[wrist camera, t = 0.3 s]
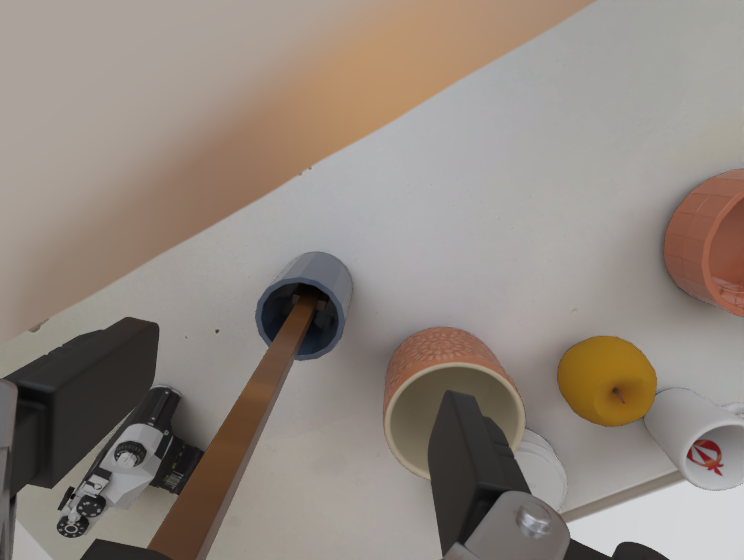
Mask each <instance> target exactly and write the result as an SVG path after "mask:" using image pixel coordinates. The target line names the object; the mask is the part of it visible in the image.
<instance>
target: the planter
mask: <svg viewBox="0 0 744 560" xmlns="http://www.w3.org/2000/svg"><path fill="white" fill-rule="evenodd" d="M446 390H452V391H456V392H461V393H465V394H470V395H473V396H475V398H476V401H477V403H478V405H479V408H480V410H481V413H482V415H483V416H486V417H490V418H491V419H492V420H493V421H494V422H495V423H496V424H497V425H498V426H499V427H500V428H501V429H502V430H503V432H504V434H505V436H506V439H507V441H508V443H509V447H511V450H512V452H513V454H514V453H515V452H516V450H517V449H518V447H519V445H520V443H521V441H522V438H523V434H524V430H525V411H524V406H523V403H522V400H521V397H520V395H519V393H518V391H517V389H516V387H515V385H514V384H513V382H512V380H511V379H510V377H509V376H508V374H507V373H506V371H505V370H504V369H503V367H502V366H501V365H500V363H499V362H498V360H497V359H496V357H495V355H494V354H493V353H492V351H491V350H490V349H489V348H488V347H487V346H486V345H485V344H484V343H483V342H482V341H481V340H479V339H478V338H477V337H475V336H474V335H472V334H470V333H468V332H466V331H463V330H460V329H456V328H451V327H435V328H429V329H426V330H423V331H420V332H418V333H416V334H414V335H412V336H411V337H409V338H408V339H406V340H405V341H404V342H403V343H402V344H401V345H400V346H399V347H398V348H397V350H396V351H395V353H394V354H393V356H392V358H391V360H390V362H389V365H388V368H387V373H386V377H385V392H384V404H383V426H384V433H385V437H386V440H387V443H388V446H389V448H390V450H391V452H392V453H393V455H394V456H395V458H396V459H397V460H398V461H399V462H400V463H401V464H402V465H403V466H404V467H405V468H406V469H408V470H409V471H411V472H412V473H414V474H415V475H417V476H419V477H422V478H424V479H427V480H430V481H431V479H430V473H429V467H428V459H427V453H428V444H429V439H430V436H431V432H432V429H433V426H434V423H435V420H436V417H437V414H438V411H439V407H440V404H441V401H442V398H443V395H444V393H445V392H446Z"/></svg>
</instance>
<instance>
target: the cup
mask: <svg viewBox="0 0 744 560" xmlns="http://www.w3.org/2000/svg"><path fill="white" fill-rule="evenodd" d="M739 414H744V403H741V402H740V403H731V404H727V405H724V406H719V405H717V404H716V403H714V402H712V401H710V400H709V399H707V398H705V397H703V396H702V395H700V394H698V393H696V392H693V391H691V390H687V389H682V388H673V389H668V390H665V391H662V392H660V393H658V394H657V395H655V400H654V402H653V404H652V406H651V408H650V410H649V412H647V413H646V414H645V415H644V421H645V425H646V427H647V429H648V431H649V433H650V434H651V435H652V437H653V438H654V439H655V441H656V442H657V443H658V444H659V446H660V447H661V448H662V450H663V451H664V452H665V453H666V455H667V456H668V457H669V459H670V460H671V461H672V462H673V464H674V465H675V466H676V468H677V469H678V470H679V471H680V473H681V474H682V475H683V477H684V478H685V479H686V480H687V481H689V482H690V483H691V484H693V485H694V486H696V487H699V488H702V489H705V490H712V491H717V490H718V491H719V490H726V489H731V488H734V487H736V486H739V485H741V484H743V483H744V419H742V418H740V417H738V416H737V415H739Z"/></svg>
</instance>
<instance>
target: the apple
mask: <svg viewBox="0 0 744 560" xmlns="http://www.w3.org/2000/svg"><path fill="white" fill-rule="evenodd" d="M557 380H558V385H559V389H560V392H561V394H562V396H563V397H564V399H565V400H566V402H567V403H568V404H569V406H570V407H571V408H572V410H573V411H574V412H575V413H576V414H578V415H579V416H581V417H582V418H584V419H586V420H588V421H590V422H592V423H596V424H599V425H602V426H606V427H613V426H623V425H625V424H628V423H630V422H633V421H636V420H638V419H640V418H642V417H643V416H644V415H645V414H646V413H647V412H649V410H650V408H651V406H652V404H653V402H654V400H655V393H656V386H657V377H656V373H655V370H654V368H653V367H652V365H651V364H650V362H649V361H648V359H647V358H646V356H645V355H644V354H643V353H642V351H641V350H639V349H638V348H637V347H635V346H634V345H633V344H632V343H630V342H627V341H625V340H623V339H620V338H618V337H613V336H597V337H591V338H589V339H587V340H584V341H582V342H580V343H578V344H576V345H574V346H573V347H572V348H570V349H569V350H568V351H567V352H566V353H565V355H564V356H563V358H562V359H561V361H560V363H559V366H558V375H557Z"/></svg>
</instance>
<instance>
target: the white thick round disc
mask: <svg viewBox="0 0 744 560" xmlns="http://www.w3.org/2000/svg"><path fill="white" fill-rule="evenodd" d="M514 456H515V457H514V459H516V460H517V463H518V465H519V467H520V469H521V471H522V474H523V476H524V478H525V480H526V482H527V484H528V487H529V489H530V491H531V493H532V495H533V496H535V497H537V498H539V499H541V500H542V501H544V502H545V503H547V504H548V505H550V506H551V507H552V508H553V509H554V510H555V511H556V512H557V511H558V510H559V508H560V507H561V505H562V503H563V501H564V499H565V496H566V492H567V476H566V473H565V470H564V468H563V466H562V464H561V463H560V461H559V460H558V458H557V457H556V455H555V452H554V451H553V449H552V448H551V446H550V445H549V444H548V442H547V441H546V440H545V439H543V438H542V437H541V436H539V435H538V434H536V433H534V432H532V431H529V430H527V429H525V430H524V434H523V438H522V441H521V443H520V445H519V447H518V449H517V450H516V452H515V453H514Z"/></svg>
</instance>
